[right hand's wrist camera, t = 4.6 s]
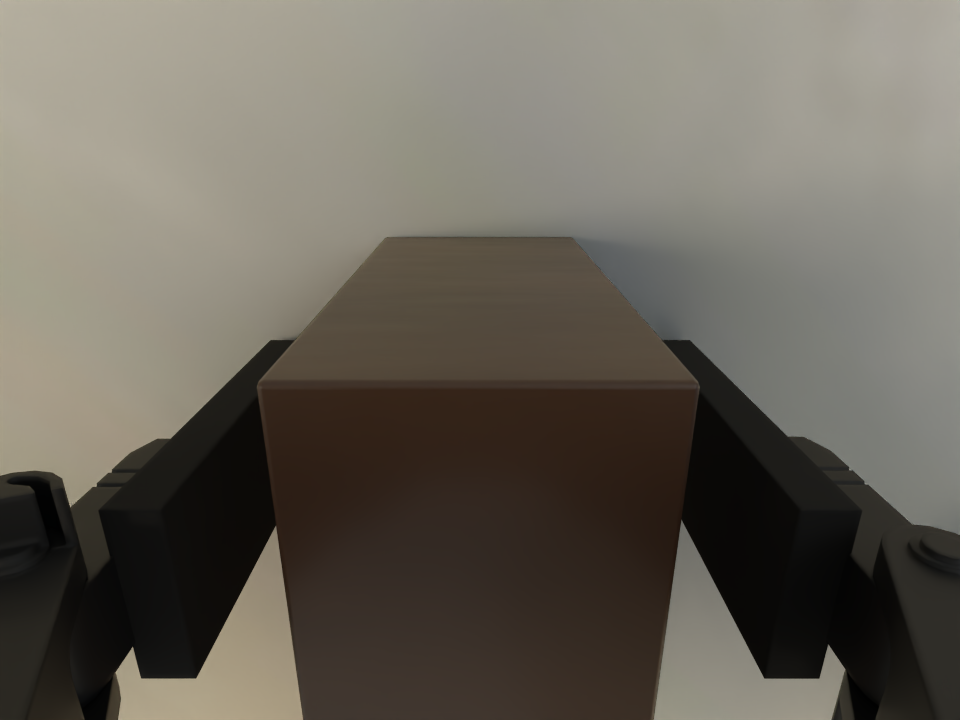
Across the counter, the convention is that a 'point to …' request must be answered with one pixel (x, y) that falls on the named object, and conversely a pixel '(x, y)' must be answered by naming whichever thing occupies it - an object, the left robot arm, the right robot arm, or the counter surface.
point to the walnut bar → (478, 487)
